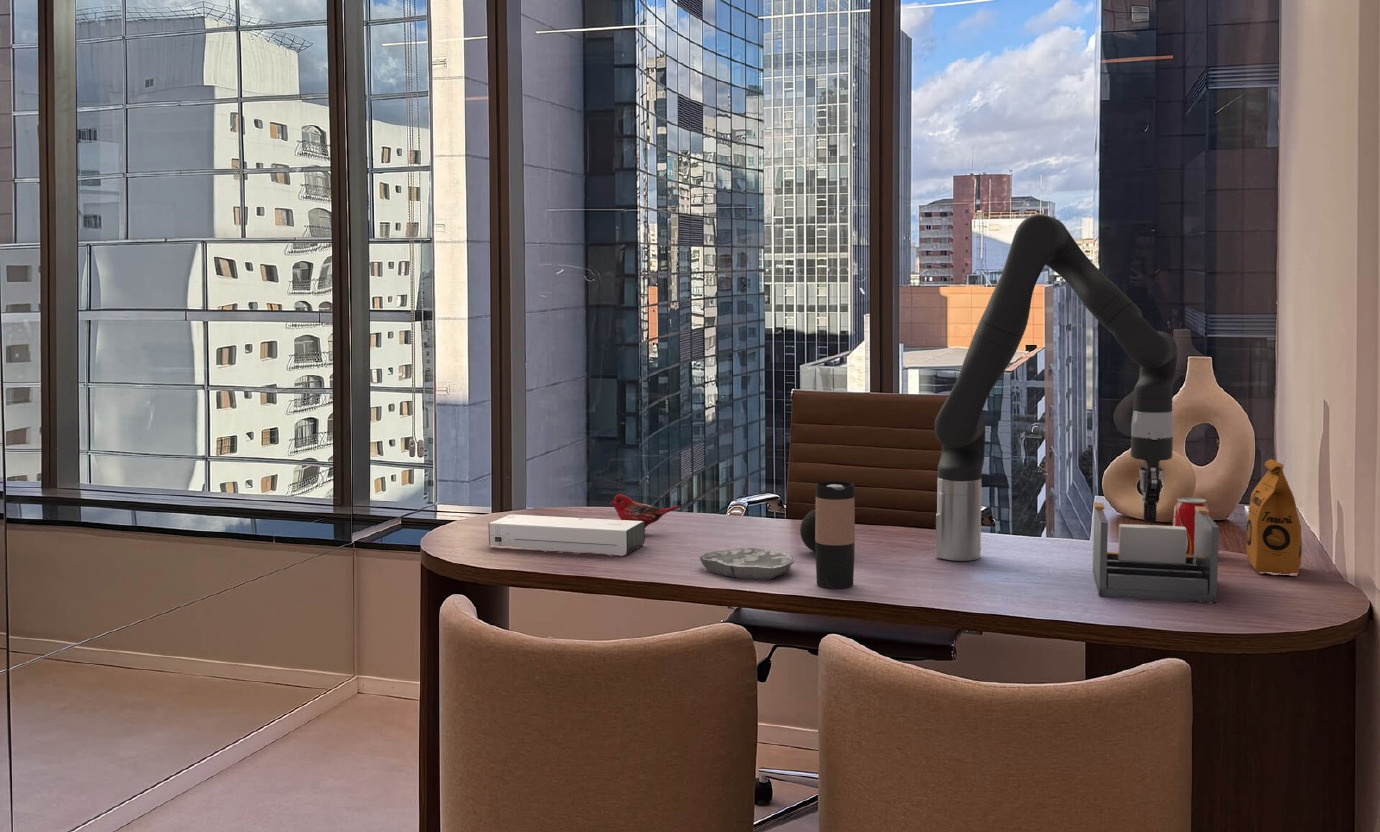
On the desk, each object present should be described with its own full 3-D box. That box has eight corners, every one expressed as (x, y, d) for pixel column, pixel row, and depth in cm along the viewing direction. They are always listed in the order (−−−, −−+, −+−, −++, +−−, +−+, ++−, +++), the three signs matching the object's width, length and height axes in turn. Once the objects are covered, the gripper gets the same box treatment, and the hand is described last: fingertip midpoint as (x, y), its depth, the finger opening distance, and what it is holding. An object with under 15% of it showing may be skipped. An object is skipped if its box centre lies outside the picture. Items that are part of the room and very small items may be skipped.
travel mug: (828, 577, 225) (828, 479, 223) (861, 583, 220) (862, 483, 218) (807, 585, 219) (807, 484, 217) (841, 591, 214) (841, 488, 212)
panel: (1119, 571, 221) (1120, 526, 220) (1118, 568, 224) (1119, 523, 223) (1185, 575, 218) (1186, 529, 217) (1183, 571, 221) (1184, 526, 220)
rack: (1097, 596, 209) (1099, 519, 207) (1091, 571, 228) (1092, 501, 226) (1218, 603, 203) (1221, 524, 201) (1201, 577, 222) (1203, 505, 221)
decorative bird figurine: (608, 534, 270) (608, 493, 268) (679, 529, 275) (679, 489, 273) (611, 537, 267) (610, 495, 266) (682, 531, 272) (682, 491, 271)
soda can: (1187, 559, 238) (1189, 503, 236) (1165, 552, 244) (1166, 497, 243) (1215, 556, 239) (1217, 501, 238) (1192, 549, 246) (1194, 495, 245)
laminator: (645, 547, 257) (644, 520, 256) (625, 559, 245) (625, 531, 245) (511, 539, 267) (510, 514, 267) (486, 550, 256) (486, 523, 255)
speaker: (793, 555, 245) (793, 510, 244) (810, 546, 254) (810, 502, 253) (836, 559, 241) (836, 514, 240) (852, 550, 250) (852, 506, 248)
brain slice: (810, 567, 235) (810, 553, 235) (774, 585, 221) (774, 570, 220) (728, 557, 245) (728, 544, 245) (688, 574, 230) (688, 560, 230)
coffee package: (1246, 574, 224) (1251, 465, 221) (1243, 561, 235) (1247, 457, 233) (1303, 579, 220) (1308, 468, 217) (1297, 565, 231) (1302, 459, 229)
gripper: (1128, 430, 226) (1126, 514, 227) (1134, 437, 213) (1132, 527, 215) (1168, 430, 223) (1166, 516, 225) (1177, 438, 211) (1174, 529, 213)
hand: (1149, 521), depth 220 cm, fingers closed
